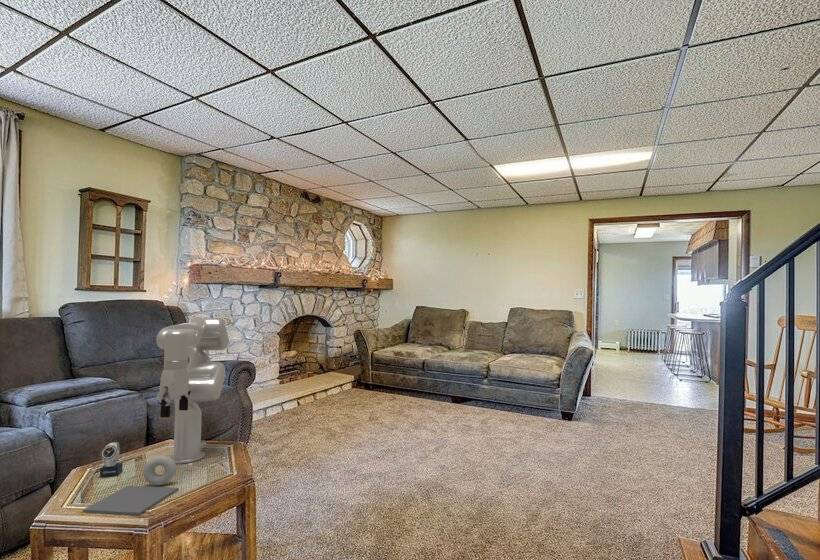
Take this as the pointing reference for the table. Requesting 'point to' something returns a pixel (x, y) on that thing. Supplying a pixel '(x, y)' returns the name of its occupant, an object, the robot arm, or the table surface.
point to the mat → (131, 500)
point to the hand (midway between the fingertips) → (174, 413)
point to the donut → (155, 478)
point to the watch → (111, 461)
